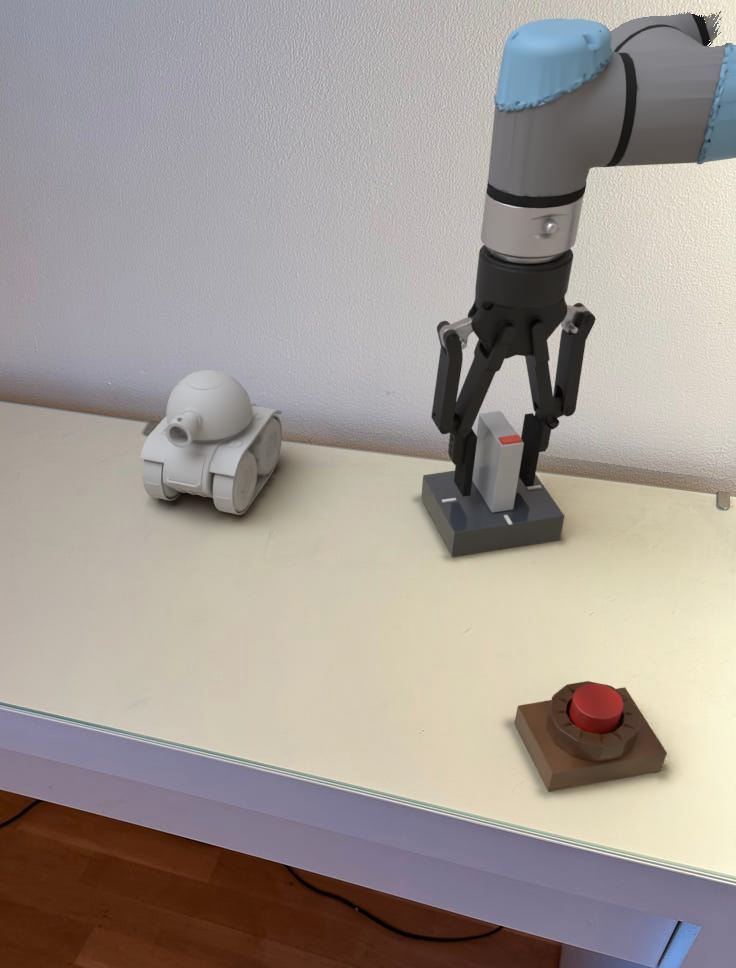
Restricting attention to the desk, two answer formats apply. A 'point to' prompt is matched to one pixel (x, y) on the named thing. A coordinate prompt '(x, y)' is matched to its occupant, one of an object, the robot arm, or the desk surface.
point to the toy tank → (212, 443)
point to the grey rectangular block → (497, 461)
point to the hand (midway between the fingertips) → (493, 483)
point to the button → (596, 708)
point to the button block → (586, 742)
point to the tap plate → (489, 516)
